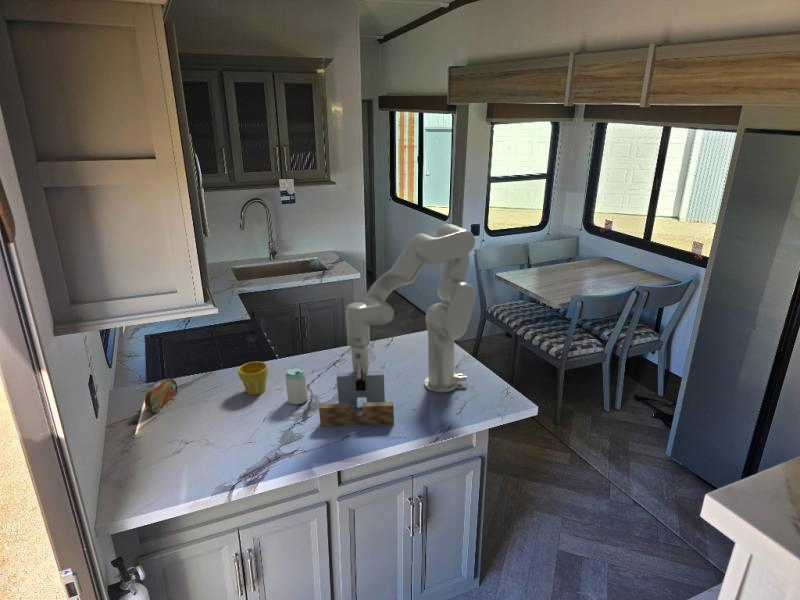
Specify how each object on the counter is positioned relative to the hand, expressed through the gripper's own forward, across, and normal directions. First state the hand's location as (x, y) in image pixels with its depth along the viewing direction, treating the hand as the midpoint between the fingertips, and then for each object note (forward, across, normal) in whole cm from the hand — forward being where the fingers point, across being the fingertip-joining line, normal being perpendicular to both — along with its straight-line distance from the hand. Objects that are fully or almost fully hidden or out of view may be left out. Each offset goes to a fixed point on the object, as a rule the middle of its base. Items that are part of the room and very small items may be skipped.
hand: (361, 387), depth 181 cm
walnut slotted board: (+7, -12, +1) cm, 14 cm away
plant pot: (+7, +12, +40) cm, 42 cm away
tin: (+7, +4, +71) cm, 71 cm away
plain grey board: (+7, 0, 0) cm, 7 cm away
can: (+7, +4, +23) cm, 24 cm away
